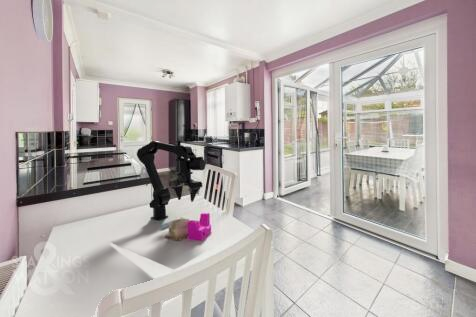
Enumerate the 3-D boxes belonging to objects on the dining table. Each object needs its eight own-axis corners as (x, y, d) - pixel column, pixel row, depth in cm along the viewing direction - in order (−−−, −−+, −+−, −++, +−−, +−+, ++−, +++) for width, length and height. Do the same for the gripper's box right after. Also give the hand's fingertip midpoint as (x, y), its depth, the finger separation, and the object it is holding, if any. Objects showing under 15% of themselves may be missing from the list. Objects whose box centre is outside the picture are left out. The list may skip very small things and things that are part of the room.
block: (169, 235, 91) (168, 221, 90) (181, 230, 96) (181, 217, 96) (176, 238, 88) (176, 223, 88) (189, 232, 94) (189, 219, 94)
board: (165, 237, 91) (165, 235, 91) (182, 230, 99) (182, 228, 99) (177, 241, 86) (177, 239, 86) (195, 233, 94) (195, 232, 94)
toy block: (201, 241, 86) (201, 223, 86) (187, 240, 88) (187, 222, 88) (214, 228, 101) (214, 213, 101) (202, 227, 102) (202, 212, 102)
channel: (161, 228, 101) (161, 223, 101) (177, 223, 110) (177, 218, 110) (175, 232, 96) (175, 227, 96) (191, 226, 104) (191, 221, 104)
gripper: (159, 170, 106) (160, 201, 106) (185, 171, 95) (186, 206, 96) (177, 169, 115) (177, 197, 115) (202, 170, 105) (203, 201, 105)
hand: (185, 200), depth 108 cm, fingers open, 9 cm apart
